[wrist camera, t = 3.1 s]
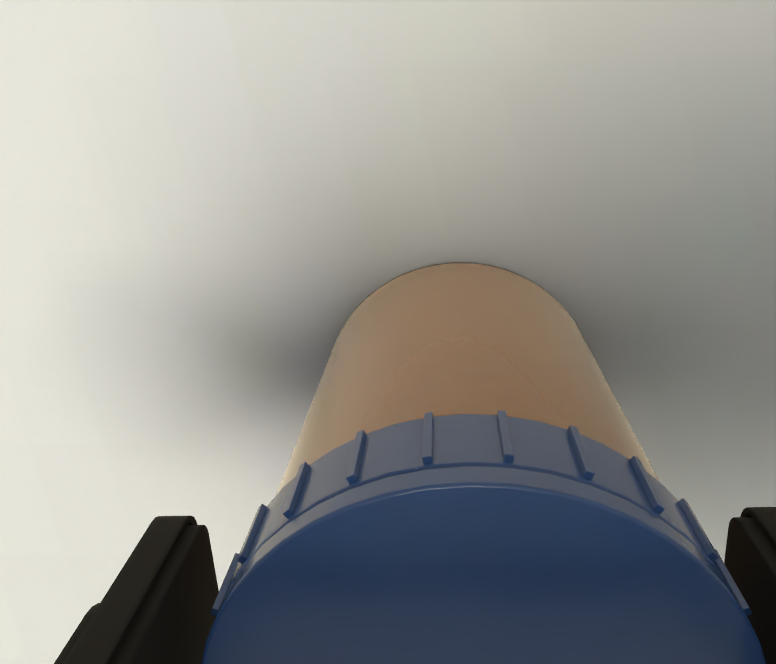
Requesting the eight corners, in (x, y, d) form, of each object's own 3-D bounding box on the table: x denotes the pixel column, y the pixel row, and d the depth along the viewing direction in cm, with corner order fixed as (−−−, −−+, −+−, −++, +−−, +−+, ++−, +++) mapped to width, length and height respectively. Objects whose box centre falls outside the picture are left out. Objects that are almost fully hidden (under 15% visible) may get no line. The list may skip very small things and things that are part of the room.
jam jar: (597, 255, 17) (774, 466, 8) (588, 500, 19) (717, 879, 10) (315, 268, 17) (183, 476, 8) (339, 504, 19) (253, 865, 11)
